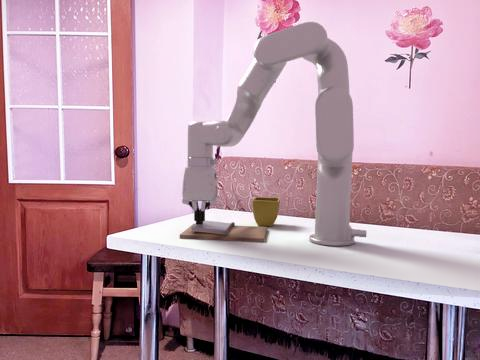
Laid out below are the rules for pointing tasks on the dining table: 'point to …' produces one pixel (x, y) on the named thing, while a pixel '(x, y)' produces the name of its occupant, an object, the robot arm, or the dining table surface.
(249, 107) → the robot arm
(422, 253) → the dining table surface
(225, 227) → the tile
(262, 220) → the flower pot
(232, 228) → the hinge board
